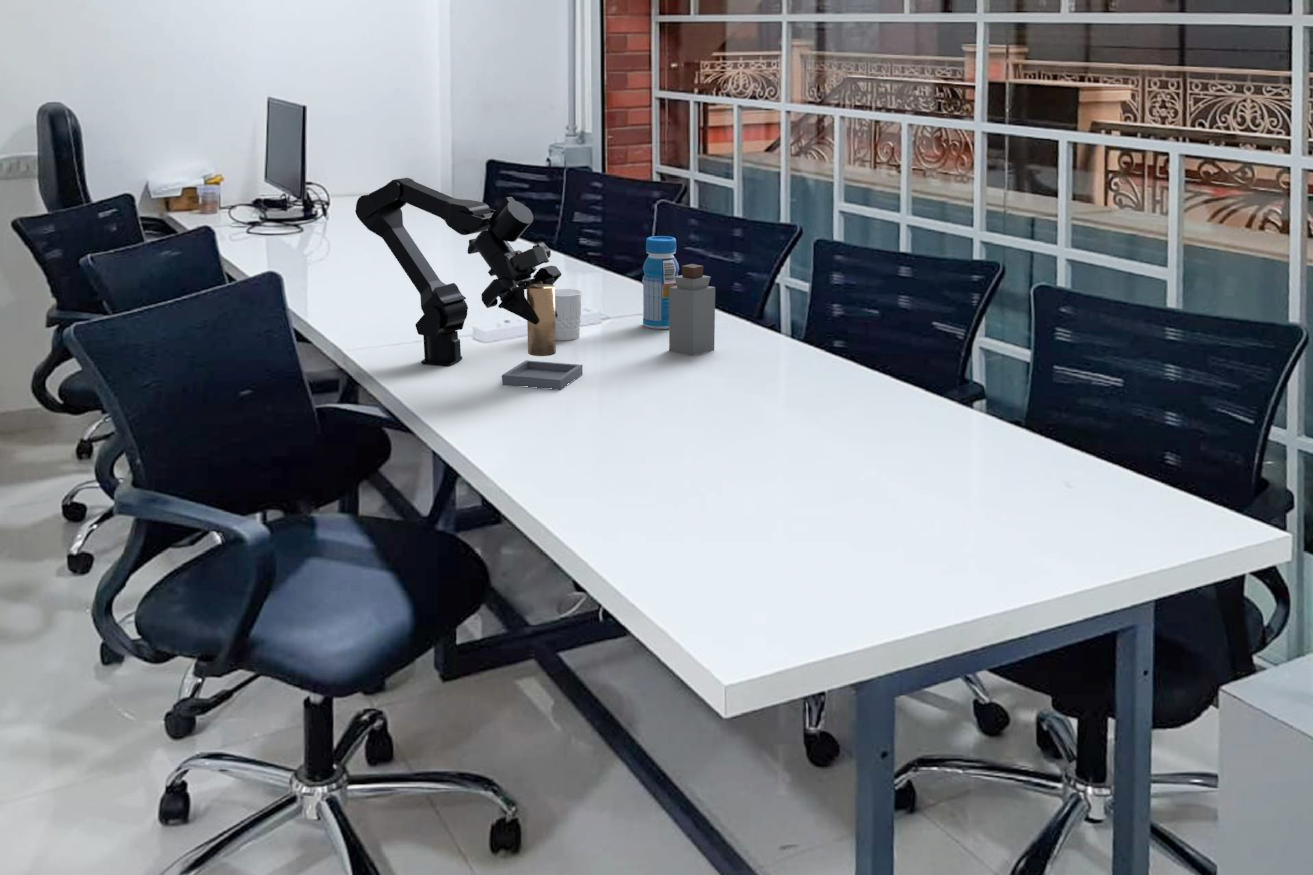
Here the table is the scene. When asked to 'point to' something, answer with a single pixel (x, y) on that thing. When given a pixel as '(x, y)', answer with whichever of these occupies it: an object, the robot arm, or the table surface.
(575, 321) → the white cup
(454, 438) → the table surface
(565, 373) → the tray
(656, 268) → the beverage bottle
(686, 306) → the perfume bottle
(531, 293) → the can
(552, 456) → the table surface
